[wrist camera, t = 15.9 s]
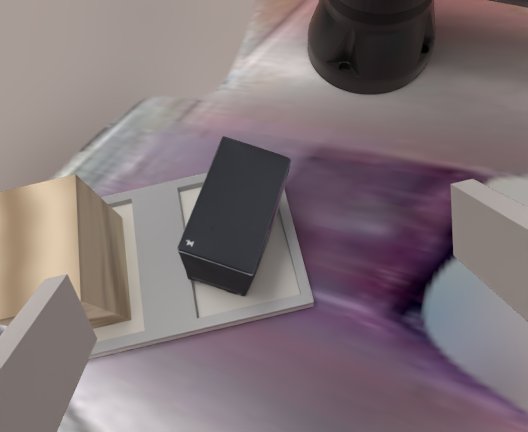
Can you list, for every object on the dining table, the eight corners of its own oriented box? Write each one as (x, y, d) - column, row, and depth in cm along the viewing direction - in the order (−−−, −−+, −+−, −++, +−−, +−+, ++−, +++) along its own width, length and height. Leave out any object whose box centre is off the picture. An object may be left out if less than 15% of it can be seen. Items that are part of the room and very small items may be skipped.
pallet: (276, 167, 47) (275, 156, 44) (313, 306, 41) (313, 302, 38) (44, 222, 47) (30, 213, 44) (45, 369, 41) (29, 368, 38)
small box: (249, 300, 40) (255, 280, 30) (185, 278, 40) (171, 252, 30) (280, 203, 44) (295, 157, 34) (221, 184, 44) (219, 132, 34)
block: (122, 217, 44) (75, 174, 35) (131, 319, 40) (80, 300, 31) (59, 232, 44) (-5, 193, 35) (61, 336, 40) (-11, 322, 31)
